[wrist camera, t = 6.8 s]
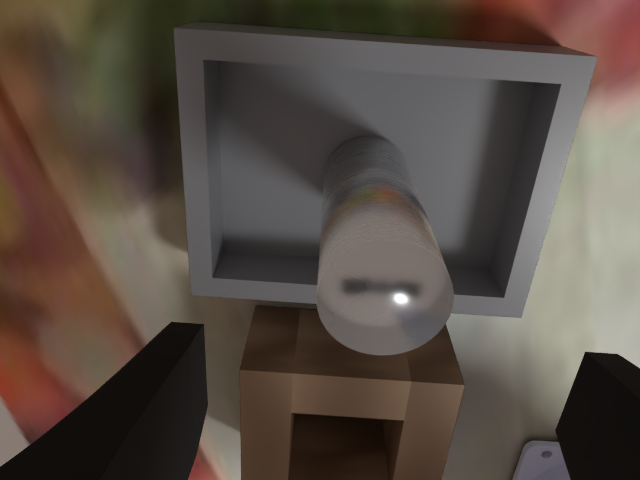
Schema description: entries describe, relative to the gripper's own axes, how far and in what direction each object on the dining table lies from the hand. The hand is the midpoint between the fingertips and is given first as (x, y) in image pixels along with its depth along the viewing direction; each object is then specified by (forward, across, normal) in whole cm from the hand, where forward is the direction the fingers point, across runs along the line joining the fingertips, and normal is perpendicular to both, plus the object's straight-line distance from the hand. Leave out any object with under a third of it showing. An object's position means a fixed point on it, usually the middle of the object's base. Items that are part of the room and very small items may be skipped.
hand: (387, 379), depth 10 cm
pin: (+10, 0, -1) cm, 10 cm away
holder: (+10, 0, +10) cm, 14 cm away
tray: (+10, 0, -1) cm, 10 cm away
